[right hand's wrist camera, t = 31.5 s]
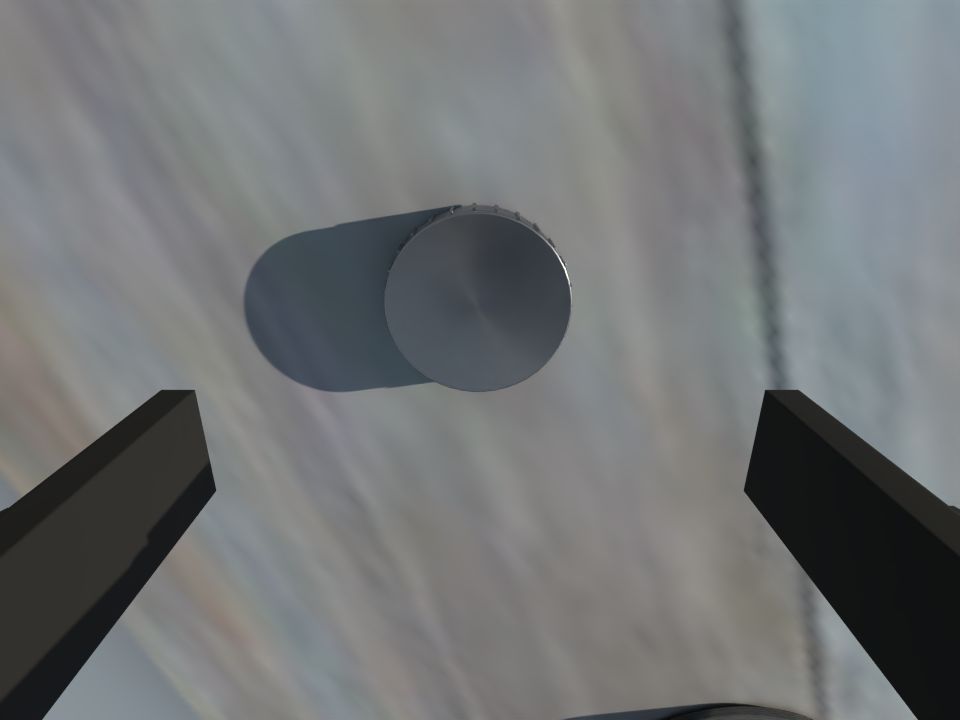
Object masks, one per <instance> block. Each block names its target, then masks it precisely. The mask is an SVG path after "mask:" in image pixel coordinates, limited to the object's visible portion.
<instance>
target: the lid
mask: <svg viewBox="0 0 960 720" xmlns="http://www.w3.org/2000/svg"><path fill="white" fill-rule="evenodd" d="M554 247H555V245H554V243H553V241H552V240H551V239H550V238H549V239H547V237H546V236H545V235H544V234H543V233H542V232H541V231H540V229H539V227H538V225H537V224H536V223H534V224H532V223H531V222H529V221H528V220H526V219H524V218H523V217H521V216H520V214H519V212H517V211H516V213H513V212H510V211H508V210H504V209H501V208H498V205H495V207H491V206H476V203H473V206H465V207H459V208H454V206H453V207H451V209H450V210H448V211H446V212H443V213H441V214H439V215H436V216H434V215H432V216H431V217H430V219H429V220H428V221H427V222H425V223H424V224H423V225H422V226H420V227H419V228H418V229H417V228H416V227H415V228H414V230H413V231H412V233H411V236H410V237H409V239H408V240H407V241H406V243H405V244H401V246H400V247H399V249H398V251H397V252H396V253H398V255H397V257H396V259H395V261H394V263H392V265H391V266H390V268H389V269H388V273H389V275H388V278H387V282H386V287H385V290H384V309H385V317H386V322H387V326H388V329H389V332H390V334H391V337H392V339H393V341H394V343H395V345H396V347H397V348H398V349H399V351H400V352H401V354H402V355H403V357H404V358H405V359H406V360H407V361H408V362H409V363H410V364H411V365H412V366H413V367H414V368H415V369H416V370H418V371H419V372H420V373H421V374H423V375H424V376H426V377H427V378H429V379H431V380H433V381H435V382H437V383H439V384H441V385H444V386H447V387H449V388H453V389H458V390H463V391H471V392H485V391H493V390H499V389H503V388H507V387H509V386H512V385H515V384H517V383H519V382H521V381H523V380H525V379H527V378H529V377H530V376H532V375H533V374H535V373H536V372H537V371H539V370H540V369H541V368H542V367H543V366H544V365H545V364H546V363H547V362H548V361H549V360H550V359H551V358H552V357H553V355H554V354H555V352H556V351H557V350H558V348H559V347H560V345H561V343H562V341H563V339H564V337H565V334H566V332H567V329H568V326H569V322H570V317H571V309H572V295H571V287H572V286H571V283H570V281H569V278H568V275H567V272H566V270H565V266H566V264H565V262H564V261H563V259H562V257H561V256H560V257H559V256H558V254H557V252H556V250H555V249H554Z"/></svg>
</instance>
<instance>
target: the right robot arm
mask: <svg viewBox="0 0 960 720" xmlns="http://www.w3.org/2000/svg"><path fill="white" fill-rule="evenodd" d="M215 492H216V487H215V482H214V478H213V473H212V468H211V464H210V459H209V454H208V450H207V445H206V440H205V436H204V431H203V426H202V422H201V417H200V412H199V408H198V403H197V398H196V393H195V390H161V391H159V392H158V393H157V394H156V395H154V396H153V397H152V398H150V399H149V400H148V401H147V402H145V403H144V404H143V405H141V406H140V407H139V408H137V409H136V410H135V411H134V412H132V413H131V414H130V415H128V416H127V417H126V418H125V419H123V420H122V421H121V422H119V423H118V424H117V425H115V426H114V427H113V428H112V429H110V430H109V431H108V432H106V433H105V434H104V435H103V436H101V437H100V438H99V439H97V440H96V441H95V442H93V443H92V444H91V445H90V446H88V447H87V448H86V449H84V450H83V451H82V452H80V453H79V454H78V455H77V456H75V457H74V458H73V459H71V460H70V461H69V462H68V463H66V464H65V465H64V466H62V467H61V468H60V469H58V470H57V471H56V472H55V473H53V474H52V475H51V476H49V477H48V478H47V479H46V480H44V481H43V482H42V483H40V484H39V485H38V486H36V487H35V488H34V489H33V490H31V491H30V492H29V493H27V494H26V495H25V496H24V497H22V498H21V499H20V500H18V501H17V502H16V503H14V504H13V505H12V506H11V507H9V508H6V509H4V510H2V511H0V720H42V719H43V718H44V716H45V715H46V714H47V713H48V711H49V710H50V709H51V707H52V706H53V705H54V703H55V702H56V701H57V699H58V698H59V697H60V695H61V694H62V693H63V691H64V690H65V689H66V688H67V686H68V685H69V684H70V682H71V681H72V680H73V678H74V677H75V676H76V674H77V673H78V672H79V670H80V669H81V668H82V666H83V665H84V664H85V663H86V661H87V660H88V659H89V657H90V656H91V655H92V653H93V652H94V651H95V649H96V648H97V647H98V645H99V644H100V643H101V642H102V640H103V639H104V638H105V636H106V635H107V634H108V632H109V631H110V630H111V628H112V627H113V626H114V624H115V623H116V622H117V620H118V619H119V618H120V617H121V615H122V614H123V613H124V611H125V610H126V609H127V607H128V606H129V605H130V603H131V602H132V601H133V599H134V598H135V597H136V596H137V594H138V593H139V592H140V590H141V589H142V588H143V586H144V585H145V584H146V582H147V581H148V580H149V578H150V577H151V576H152V574H153V573H154V572H155V571H156V569H157V568H158V567H159V565H160V564H161V563H162V561H163V560H164V559H165V557H166V556H167V555H168V553H169V552H170V551H171V550H172V548H173V547H174V546H175V544H176V543H177V542H178V540H179V539H180V538H181V536H182V535H183V534H184V532H185V531H186V530H187V528H188V527H189V526H190V525H191V523H192V522H193V521H194V519H195V518H196V517H197V515H198V514H199V513H200V511H201V510H202V509H203V507H204V506H205V505H206V504H207V502H208V501H209V500H210V498H211V497H212V496H213V494H214V493H215ZM744 492H745V493H746V494H747V496H748V497H749V498H750V500H751V501H752V502H753V504H754V505H755V506H756V507H757V509H758V510H759V511H760V513H761V514H762V515H763V517H764V518H765V519H766V521H767V522H768V523H769V525H770V526H771V527H772V528H773V530H774V531H775V532H776V534H777V535H778V536H779V538H780V539H781V540H782V542H783V543H784V544H785V546H786V547H787V548H788V550H789V551H790V552H791V553H792V555H793V556H794V557H795V559H796V560H797V561H798V563H799V564H800V565H801V567H802V568H803V569H804V571H805V572H806V573H807V574H808V576H809V577H810V578H811V580H812V581H813V582H814V584H815V585H816V586H817V588H818V589H819V590H820V592H821V593H822V594H823V596H824V597H825V598H826V599H827V601H828V602H829V603H830V605H831V606H832V607H833V609H834V610H835V611H836V613H837V614H838V615H839V617H840V618H841V619H842V620H843V622H844V623H845V624H846V626H847V627H848V628H849V630H850V631H851V632H852V634H853V635H854V636H855V638H856V639H857V640H858V642H859V643H860V644H861V645H862V647H863V648H864V649H865V651H866V652H867V653H868V655H869V656H870V657H871V659H872V660H873V661H874V663H875V664H876V665H877V667H878V668H879V669H880V670H881V672H882V673H883V674H884V676H885V677H886V678H887V680H888V681H889V682H890V684H891V685H892V686H893V688H894V689H895V690H896V691H897V693H898V694H899V695H900V697H901V698H902V699H903V701H904V702H905V703H906V705H907V706H908V707H909V709H910V710H911V711H912V713H913V714H914V715H915V716H916V718H917V719H918V720H960V509H958V508H956V507H954V506H948V505H947V504H946V503H944V502H943V501H942V500H940V499H939V498H938V497H936V496H935V495H934V494H933V493H931V492H930V491H929V490H927V489H926V488H925V487H924V486H922V485H921V484H920V483H918V482H917V481H916V480H914V479H913V478H912V477H911V476H909V475H908V474H907V473H905V472H904V471H903V470H902V469H900V468H899V467H898V466H896V465H895V464H894V463H892V462H891V461H890V460H889V459H887V458H886V457H885V456H883V455H882V454H881V453H880V452H878V451H877V450H876V449H874V448H873V447H872V446H870V445H869V444H868V443H867V442H865V441H864V440H863V439H861V438H860V437H859V436H857V435H856V434H855V433H854V432H852V431H851V430H850V429H848V428H847V427H846V426H845V425H843V424H842V423H841V422H839V421H838V420H837V419H835V418H834V417H833V416H832V415H830V414H829V413H828V412H826V411H825V410H824V409H823V408H821V407H820V406H819V405H817V404H816V403H815V402H813V401H812V400H811V399H810V398H808V397H807V396H806V395H804V394H803V393H802V392H801V391H799V390H765V393H764V398H763V403H762V407H761V412H760V417H759V422H758V426H757V431H756V436H755V440H754V445H753V450H752V454H751V459H750V464H749V468H748V473H747V478H746V482H745V487H744ZM669 720H813V719H810V718H808V717H806V716H803V715H799V714H796V713H793V712H789V711H785V710H779V709H773V708H764V707H747V706H746V707H724V708H715V709H708V710H703V711H698V712H693V713H689V714H685V715H682V716H678V717H675V718H672V719H669Z"/></svg>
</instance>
